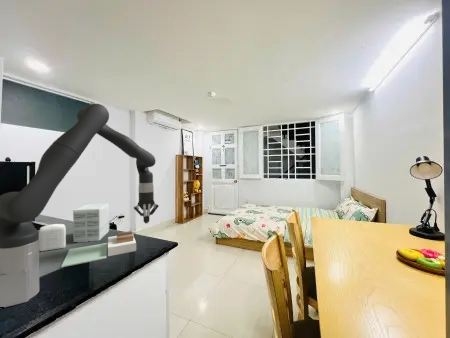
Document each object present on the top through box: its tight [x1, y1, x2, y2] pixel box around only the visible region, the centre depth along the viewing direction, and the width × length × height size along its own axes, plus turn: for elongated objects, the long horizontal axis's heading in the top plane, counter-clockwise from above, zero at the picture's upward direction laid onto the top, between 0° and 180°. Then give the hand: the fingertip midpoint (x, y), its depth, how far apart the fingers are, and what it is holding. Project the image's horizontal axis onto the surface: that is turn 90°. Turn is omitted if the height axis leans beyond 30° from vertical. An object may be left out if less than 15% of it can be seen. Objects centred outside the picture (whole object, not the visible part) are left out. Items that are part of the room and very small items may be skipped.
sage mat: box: [60, 242, 108, 268], centre depth 94 cm, size 20×16×1 cm
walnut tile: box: [116, 230, 134, 244], centre depth 102 cm, size 9×7×2 cm
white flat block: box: [107, 232, 137, 257], centre depth 101 cm, size 16×12×4 cm
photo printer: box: [38, 223, 67, 252], centre depth 100 cm, size 10×4×12 cm, turn 123°
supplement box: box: [72, 203, 110, 243], centre depth 117 cm, size 17×13×18 cm
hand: (146, 222), depth 107 cm, fingers closed
